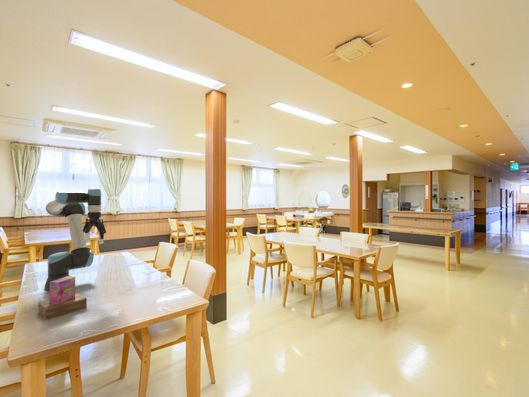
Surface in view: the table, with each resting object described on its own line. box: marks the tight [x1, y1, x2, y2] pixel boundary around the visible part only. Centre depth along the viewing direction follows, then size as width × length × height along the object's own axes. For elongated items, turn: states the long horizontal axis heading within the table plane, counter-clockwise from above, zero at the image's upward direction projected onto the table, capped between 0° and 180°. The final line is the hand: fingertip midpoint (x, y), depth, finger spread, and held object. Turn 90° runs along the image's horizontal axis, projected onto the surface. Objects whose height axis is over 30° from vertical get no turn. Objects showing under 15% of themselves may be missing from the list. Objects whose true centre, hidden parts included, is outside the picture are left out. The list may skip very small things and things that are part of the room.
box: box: [49, 275, 76, 304], centre depth 146 cm, size 10×6×12 cm, turn 167°
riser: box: [37, 292, 88, 320], centre depth 146 cm, size 14×18×6 cm
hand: (94, 243), depth 177 cm, fingers open, 13 cm apart
